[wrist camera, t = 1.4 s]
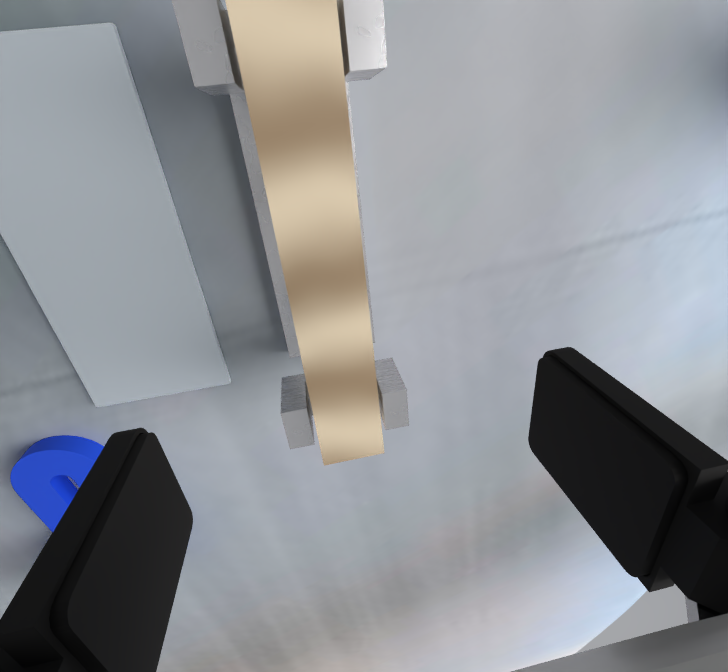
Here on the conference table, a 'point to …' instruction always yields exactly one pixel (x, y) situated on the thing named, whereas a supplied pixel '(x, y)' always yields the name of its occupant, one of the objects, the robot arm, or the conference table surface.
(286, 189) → the rail
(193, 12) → the rail stand
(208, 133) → the conference table surface
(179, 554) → the robot arm
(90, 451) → the bracket
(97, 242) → the mat
